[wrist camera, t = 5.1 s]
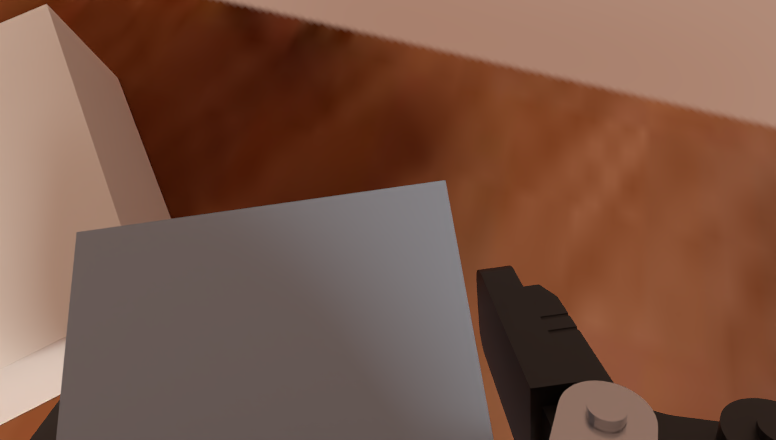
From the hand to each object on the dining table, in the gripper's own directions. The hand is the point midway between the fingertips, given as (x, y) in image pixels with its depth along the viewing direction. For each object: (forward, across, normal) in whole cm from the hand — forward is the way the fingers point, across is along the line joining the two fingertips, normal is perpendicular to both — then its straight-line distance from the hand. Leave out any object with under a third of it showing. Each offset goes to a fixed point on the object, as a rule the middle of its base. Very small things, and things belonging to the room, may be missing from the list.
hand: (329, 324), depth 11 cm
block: (+2, 0, +5) cm, 5 cm away
